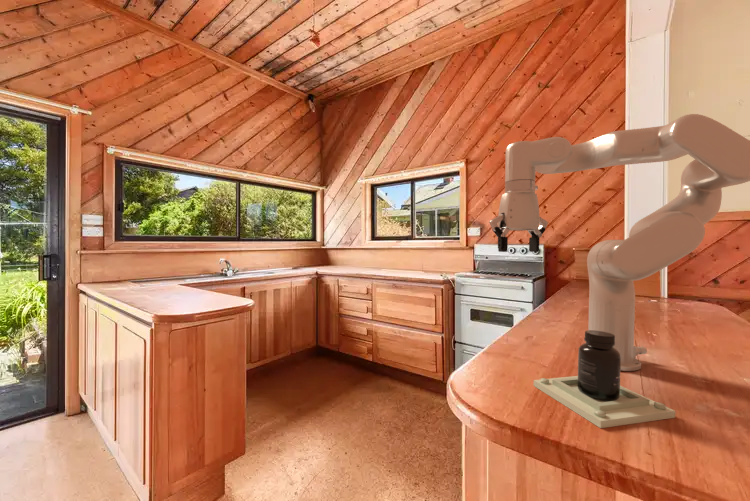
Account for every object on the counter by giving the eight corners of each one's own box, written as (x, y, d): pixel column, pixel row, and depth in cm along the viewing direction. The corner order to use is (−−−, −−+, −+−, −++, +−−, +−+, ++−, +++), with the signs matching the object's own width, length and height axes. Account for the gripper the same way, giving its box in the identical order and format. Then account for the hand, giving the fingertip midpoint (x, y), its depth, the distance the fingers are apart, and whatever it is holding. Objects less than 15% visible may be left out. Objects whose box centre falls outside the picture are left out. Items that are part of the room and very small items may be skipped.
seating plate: (595, 379, 72) (595, 369, 72) (675, 417, 56) (675, 405, 56) (533, 385, 69) (533, 375, 69) (600, 428, 53) (600, 415, 53)
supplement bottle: (627, 404, 59) (629, 339, 58) (586, 400, 60) (588, 337, 60) (608, 387, 65) (610, 329, 65) (571, 384, 67) (573, 327, 66)
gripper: (537, 192, 92) (536, 251, 93) (483, 189, 89) (482, 251, 89) (557, 188, 85) (556, 252, 86) (499, 185, 81) (498, 252, 82)
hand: (518, 251), depth 87 cm, fingers open, 9 cm apart
